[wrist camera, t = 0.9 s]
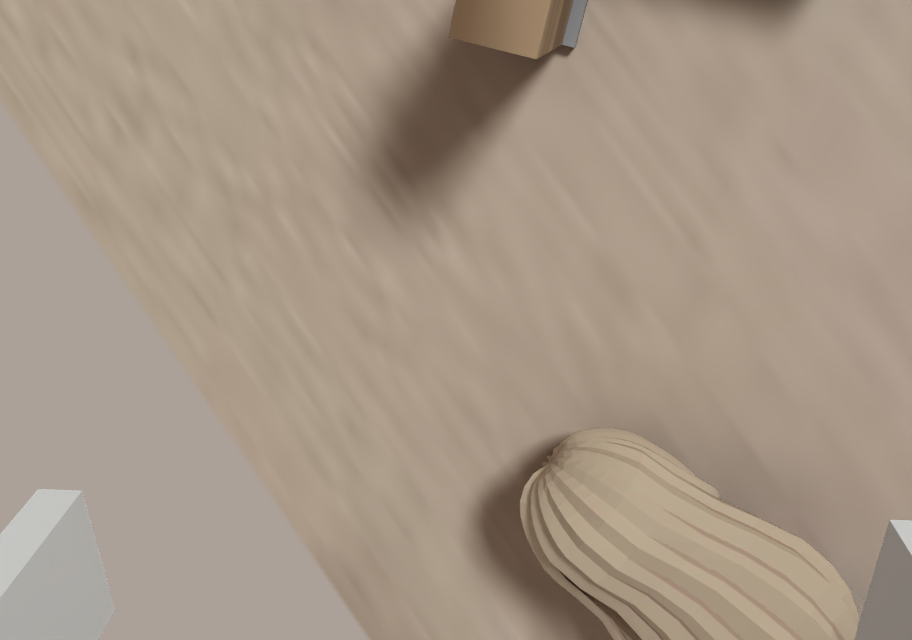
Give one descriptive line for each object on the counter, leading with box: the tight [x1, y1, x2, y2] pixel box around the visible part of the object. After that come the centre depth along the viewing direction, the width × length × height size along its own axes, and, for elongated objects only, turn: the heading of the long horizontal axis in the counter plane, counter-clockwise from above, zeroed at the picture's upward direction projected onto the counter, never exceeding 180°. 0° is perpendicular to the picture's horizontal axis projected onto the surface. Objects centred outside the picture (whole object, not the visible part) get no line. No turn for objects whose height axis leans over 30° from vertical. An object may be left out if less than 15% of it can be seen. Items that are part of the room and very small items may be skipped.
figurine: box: [520, 428, 859, 640], centre depth 42 cm, size 12×9×30 cm
